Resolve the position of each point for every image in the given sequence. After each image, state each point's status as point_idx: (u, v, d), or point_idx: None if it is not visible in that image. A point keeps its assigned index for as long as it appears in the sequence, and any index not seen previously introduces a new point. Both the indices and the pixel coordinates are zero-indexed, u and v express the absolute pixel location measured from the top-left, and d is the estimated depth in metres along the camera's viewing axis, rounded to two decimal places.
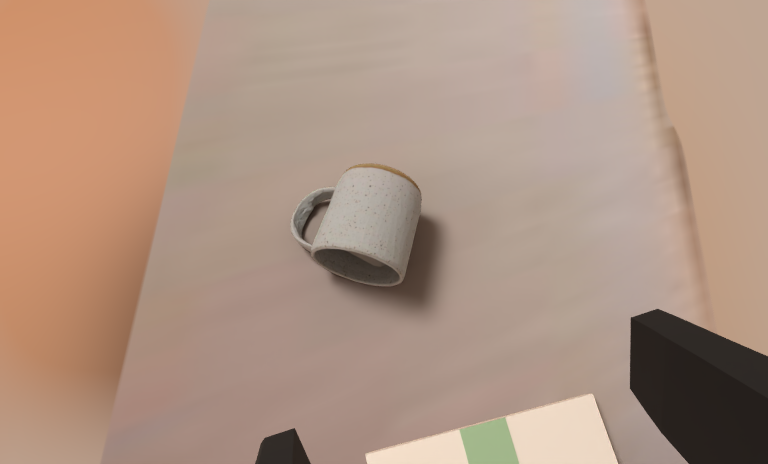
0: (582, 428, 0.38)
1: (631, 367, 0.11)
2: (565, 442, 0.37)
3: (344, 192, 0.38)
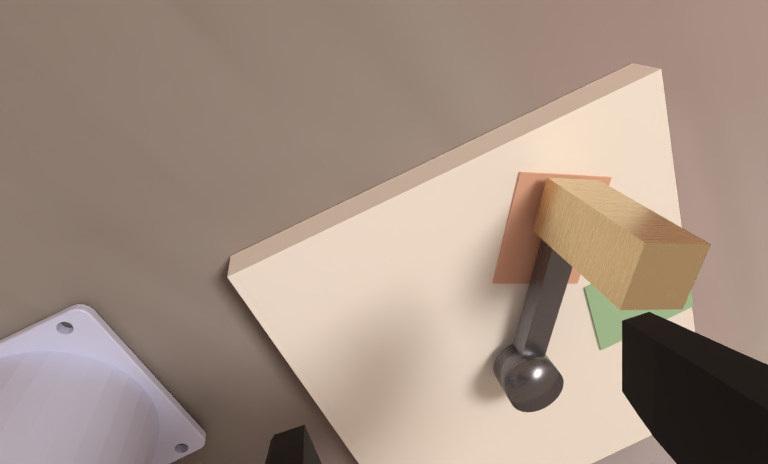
0: None
1: (622, 370, 0.11)
2: None
3: None
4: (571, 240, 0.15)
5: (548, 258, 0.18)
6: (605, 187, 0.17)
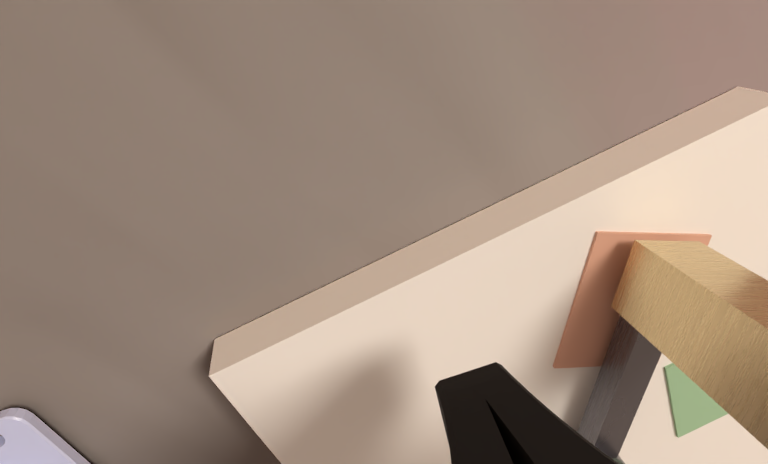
0: None
1: None
2: None
3: None
4: (679, 334, 0.11)
5: (633, 343, 0.13)
6: (714, 254, 0.12)
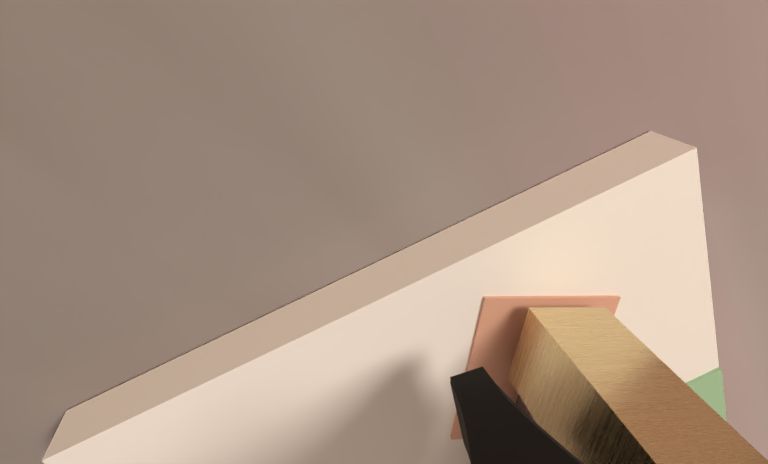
0: None
1: (460, 425, 0.10)
2: None
3: None
4: (563, 425, 0.10)
5: None
6: (615, 326, 0.11)
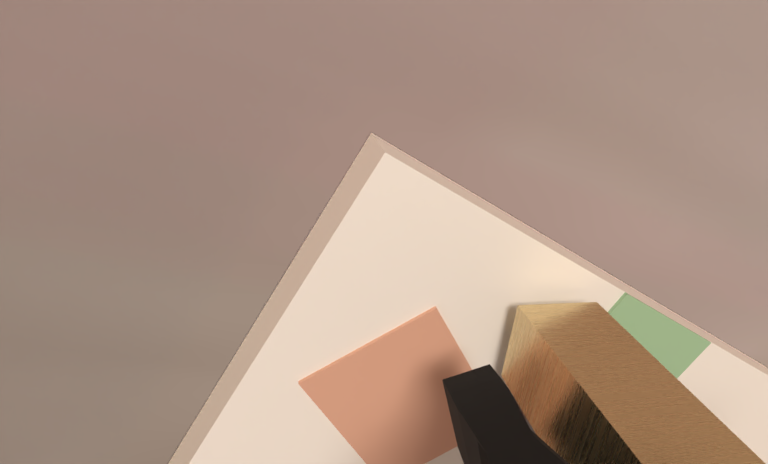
0: (758, 445, 0.16)
1: (453, 427, 0.10)
2: None
3: None
4: (553, 424, 0.10)
5: (525, 417, 0.12)
6: (606, 321, 0.11)
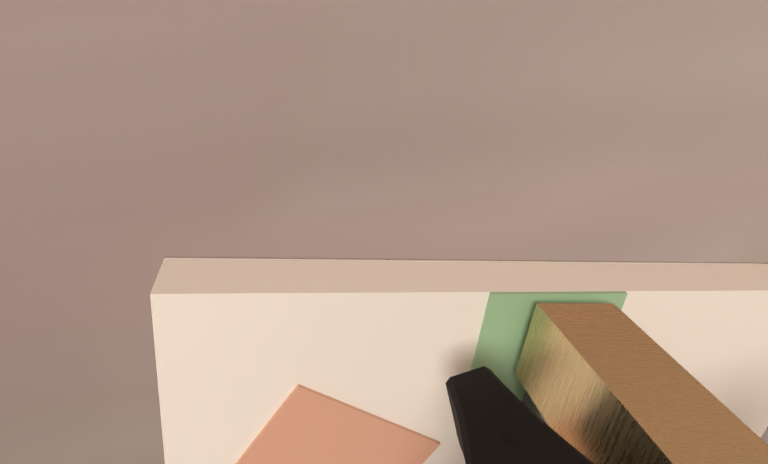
0: (766, 353, 0.14)
1: None
2: (711, 373, 0.14)
3: None
4: (572, 421, 0.10)
5: (537, 415, 0.12)
6: (624, 322, 0.11)
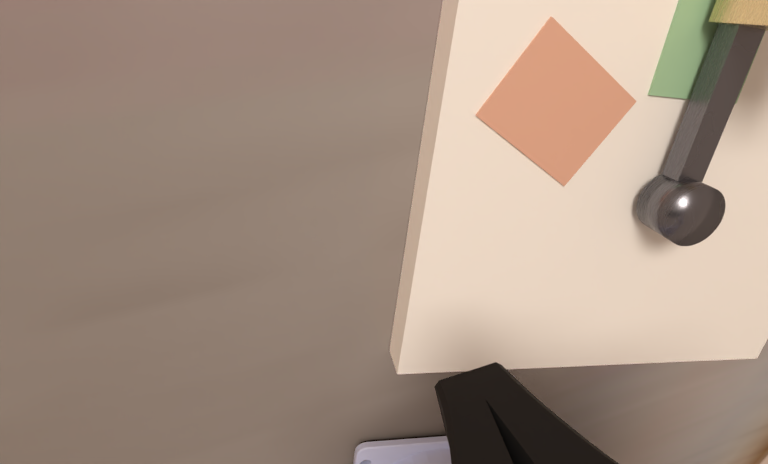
0: None
1: None
2: None
3: None
4: None
5: (727, 51, 0.15)
6: None
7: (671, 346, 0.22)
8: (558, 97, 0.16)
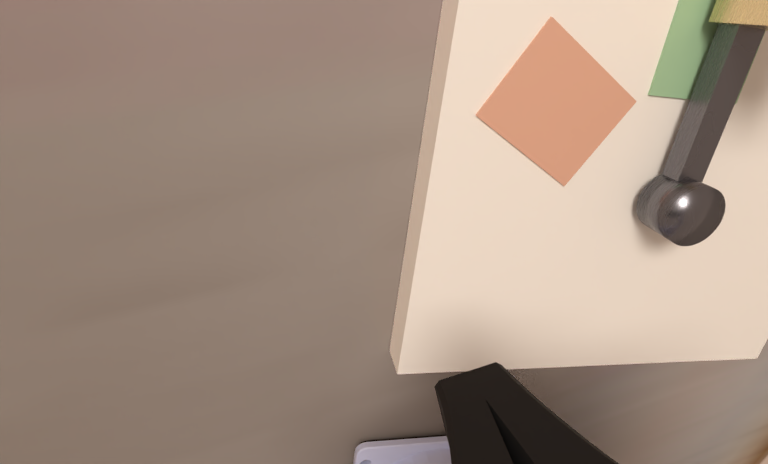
0: None
1: None
2: None
3: None
4: None
5: (727, 51, 0.15)
6: None
7: (671, 346, 0.22)
8: (558, 97, 0.16)
